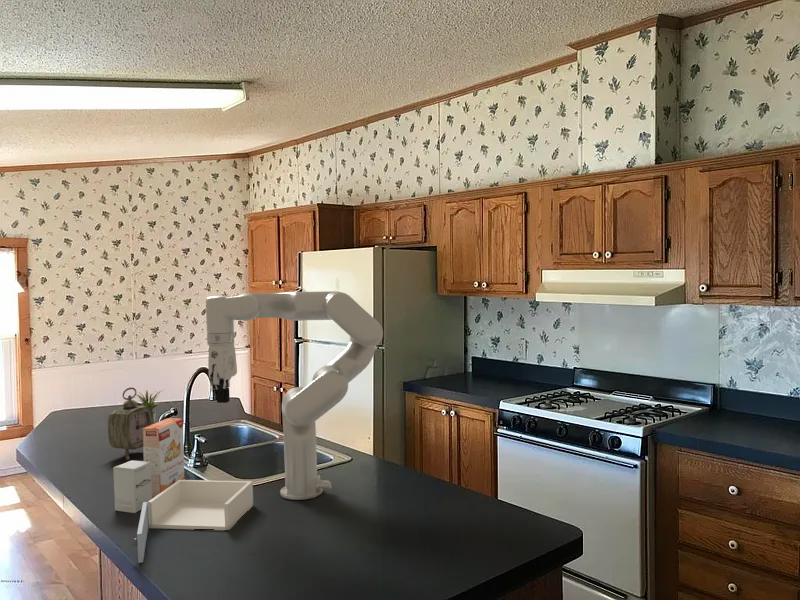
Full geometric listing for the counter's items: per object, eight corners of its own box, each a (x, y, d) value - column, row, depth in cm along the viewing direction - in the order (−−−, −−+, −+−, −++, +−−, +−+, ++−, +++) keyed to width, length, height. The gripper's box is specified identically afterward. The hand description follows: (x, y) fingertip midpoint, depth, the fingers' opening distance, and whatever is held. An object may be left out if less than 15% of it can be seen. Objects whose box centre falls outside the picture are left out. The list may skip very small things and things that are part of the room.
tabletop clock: (128, 462, 239) (124, 392, 237) (107, 460, 242) (103, 391, 240) (155, 451, 252) (152, 384, 251) (135, 449, 255) (132, 383, 254)
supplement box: (135, 513, 189) (133, 469, 188) (114, 510, 191) (112, 466, 191) (153, 504, 196) (151, 461, 195) (133, 501, 198) (131, 459, 198)
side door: (142, 562, 157) (141, 533, 156) (132, 563, 156) (131, 534, 156) (148, 527, 178) (147, 501, 177) (139, 528, 177) (138, 503, 177)
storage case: (253, 505, 193) (252, 481, 192) (228, 530, 175) (227, 504, 175) (180, 503, 196) (179, 479, 195) (148, 528, 178) (147, 501, 178)
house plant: (154, 421, 302) (153, 384, 301) (173, 424, 293) (172, 387, 293) (125, 427, 290) (123, 390, 289) (144, 432, 282) (142, 393, 281)
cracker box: (162, 498, 201) (159, 428, 199) (144, 497, 202) (140, 428, 201) (186, 483, 214) (183, 417, 213) (169, 482, 216) (166, 417, 214)
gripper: (222, 341, 186) (225, 407, 187) (242, 335, 201) (245, 397, 202) (197, 342, 187) (199, 407, 188) (218, 336, 202) (221, 396, 203)
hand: (223, 402), depth 195 cm, fingers closed
